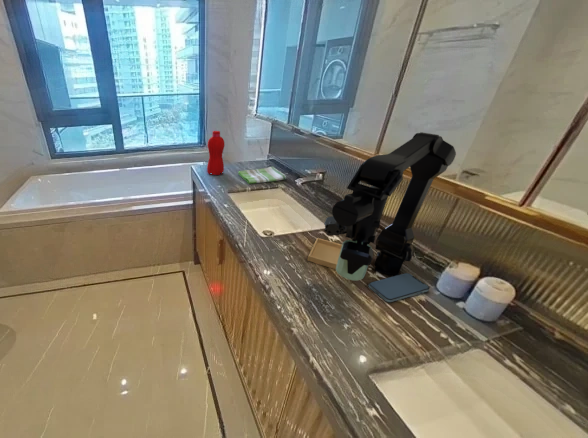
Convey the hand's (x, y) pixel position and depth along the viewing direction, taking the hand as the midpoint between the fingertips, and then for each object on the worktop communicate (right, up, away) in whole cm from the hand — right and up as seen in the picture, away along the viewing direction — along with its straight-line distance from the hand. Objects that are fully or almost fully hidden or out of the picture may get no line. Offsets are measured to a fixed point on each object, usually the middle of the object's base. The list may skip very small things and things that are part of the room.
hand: (351, 265), depth 74 cm
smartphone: (+18, -8, +9) cm, 22 cm away
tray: (+6, -1, +22) cm, 23 cm away
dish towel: (-3, +36, +91) cm, 98 cm away
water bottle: (-29, +40, +99) cm, 111 cm away
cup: (0, -2, +1) cm, 2 cm away
